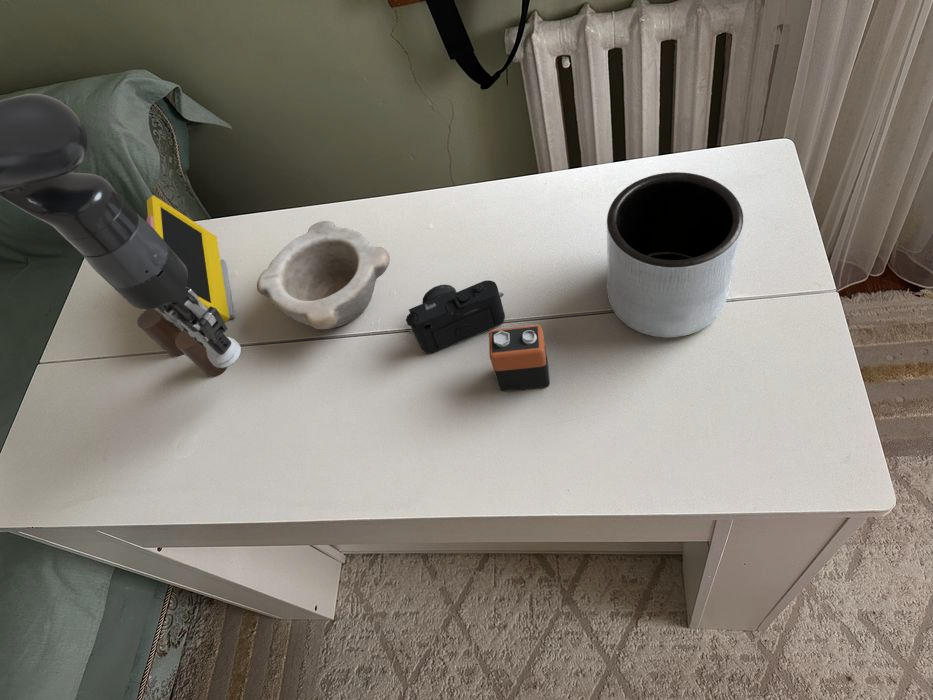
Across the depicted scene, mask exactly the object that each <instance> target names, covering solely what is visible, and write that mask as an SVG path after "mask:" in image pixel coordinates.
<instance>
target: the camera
mask: <svg viewBox="0 0 933 700" xmlns="http://www.w3.org/2000/svg"><path fill="white" fill-rule="evenodd" d="M503 296H504V293H503V291H499V287H498V285H497V283H496V282H495V281H494V280H490V279H487V280H483V281H480V282H478V283H475V284H472V285H471V286H468V287H466V288H463V289H461V290H459V291H457V289H456V288H455V287H453V286H452V285H451V284H439V285H437V286H434V287H432V288H430V289H429V290H428V291H427V292H425V293H424V296H423V297H422V301H421V303H420V304H418V305H415V306H412V307H411V308H409V309H408V311H409V313H408V314H407V316H406V317H405V322H406V324H407V326H409V327H410V328H411V329H410V330H409V331H408V333H409V334H410V335H414V338H415V340H416V341H417V343H418V345H419V348H420V350H421V351H422V352H423V353H425V354H427V355H429V354H430V355H432V354H434V353H436V352H439V351H441V350H444V349H447V348H449V347H452V346H453V345H457V344H458V343H461V342H464V341H466V340H468V339H471V338H473V337H475V336H478V335H480V334H482V333H484V332H487V331H491V330H493V329H495V328H496V327H498V326H501V325H502V324H503V323H504V321H505V319H506V315H505V309H504V306H503V302H502V297H503Z"/></svg>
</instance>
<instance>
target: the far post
mask: <svg viewBox="0 0 933 700" xmlns="http://www.w3.org/2000/svg"><path fill="white" fill-rule="evenodd" d="M136 325H137V327H138V328H139V329H140V330H141V331H143V333H145V334H146V335H147V336H148V337H149V338H150V339H151V340H153V341H154V343H155V344H157V346H159V347H160V348H161V349H162V350H163V351H164V352H165V353H167V354H168V355H169V356H170V357H173V358H177V357H180V356H183V355H185V354H184V353H183V352H182V351H181V350H180V349H179V348H178V347H177V346H176V343H175V340H176V337H177V335H178V334H179V333H180V332H181V331H182V330H183V329H181V328H178V327H177V325H176V324H175V323H172V322H170V321H167V320H166V319H165V318H164V317H163V316H162V315H161V314H160V313H158V312H157V311H156V310H155V309H150V310H144V311H143V312H141V314H140V315H139V316H138V318H137V321H136Z"/></svg>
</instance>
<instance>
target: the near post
mask: <svg viewBox="0 0 933 700" xmlns="http://www.w3.org/2000/svg"><path fill="white" fill-rule="evenodd" d="M181 330H182V331H181V332H180V333H179V334H178V335H177V337H176V340H175V343H176V346H177V347H178V348H179V349H180V350H181V351H182V352H183V353H184V354H183V355H186V357H187V358H188V359H189V360H190V361H191V362H193V364H195V365H196V366H197V367H198V368H199V369H200V370H201V371H202V372H203V373H204V374H205V375H206V376H208V377H211V378H214V377H215V378H216V377H218V376H220V375H222V374H223V373H224V372H225V371H226V370H227V369H228V367H225V368H219V367H215V366H214V365H213V364H212V362H210V361H209V359H208V356H207V352H206V348H205V346H204V345H200V344H198V343H197V342H196V341H195V340H194V339H193V338H192V337H191V336H190V335H189V334H188V333H187V332H186V331H185V330H184V329H181Z"/></svg>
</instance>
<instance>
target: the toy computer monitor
mask: <svg viewBox="0 0 933 700" xmlns="http://www.w3.org/2000/svg"><path fill="white" fill-rule="evenodd" d="M146 208H147V209H146V211H147V217H146V222H147V223H148V224H149V225H151V226H152V228H153V229H154V230H155V231H156V232H157V233H158V234H159V235H160V237H161V238H162V239H163V240H164V241H165V242H166V244H167V245H168V246H169V247H170V248H171V249H172V251H173V252H174V253H175V254H176V255H177V256H178V257H179V259H180V260H181V261H182V262H183V263H184V264H185V266H186V268H187V271H188V278H187V283H186V287H188V288H190V289H191V290H192V291H193V292H194V293H195V294H196V295H197V296H198V299H199V300H200V301H201V302H202V303H203V304H204V305H205V306H206V307H207V308H208V309H209V308H210V306H211V307H213V308H216V309H217V311H218V312H219V314H220V315H221V317H222V319H223V321H224V323H225V324H226V323H227V322H228V321H230V320H233V319H235V318H236V313H235V309H234V301H233V296H232V290H231V289H232V288H231V284H230V279H229V278H230V277H229V272H228V266H227V261H226V260H225V259H224V258H223V259H221V256H220V250H219V243H218V237H217V236H216V235H215V234H213V233H212V232H211V231H209V230H208V229H206V228H204V227H203V226H202V225H200V224H198V223H197V222H195V221H194V220H192V219H191V218H189V217H188V216H187V215H184V214H183V213H181V212H180V211H178V210H177V209H175V208H174V207H172V206H171V205H169V204H168V203H166V202H165V201H163V200H162V199H160V198H159V197H157V196H155V195H150V197H148V198H147V199H146Z"/></svg>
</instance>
